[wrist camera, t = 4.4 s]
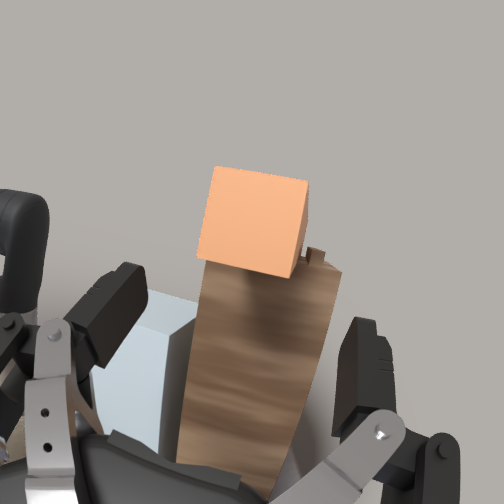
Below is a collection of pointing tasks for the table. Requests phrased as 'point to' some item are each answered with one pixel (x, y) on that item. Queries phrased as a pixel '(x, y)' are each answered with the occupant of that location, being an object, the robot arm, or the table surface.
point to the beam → (254, 221)
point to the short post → (149, 376)
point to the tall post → (253, 365)
